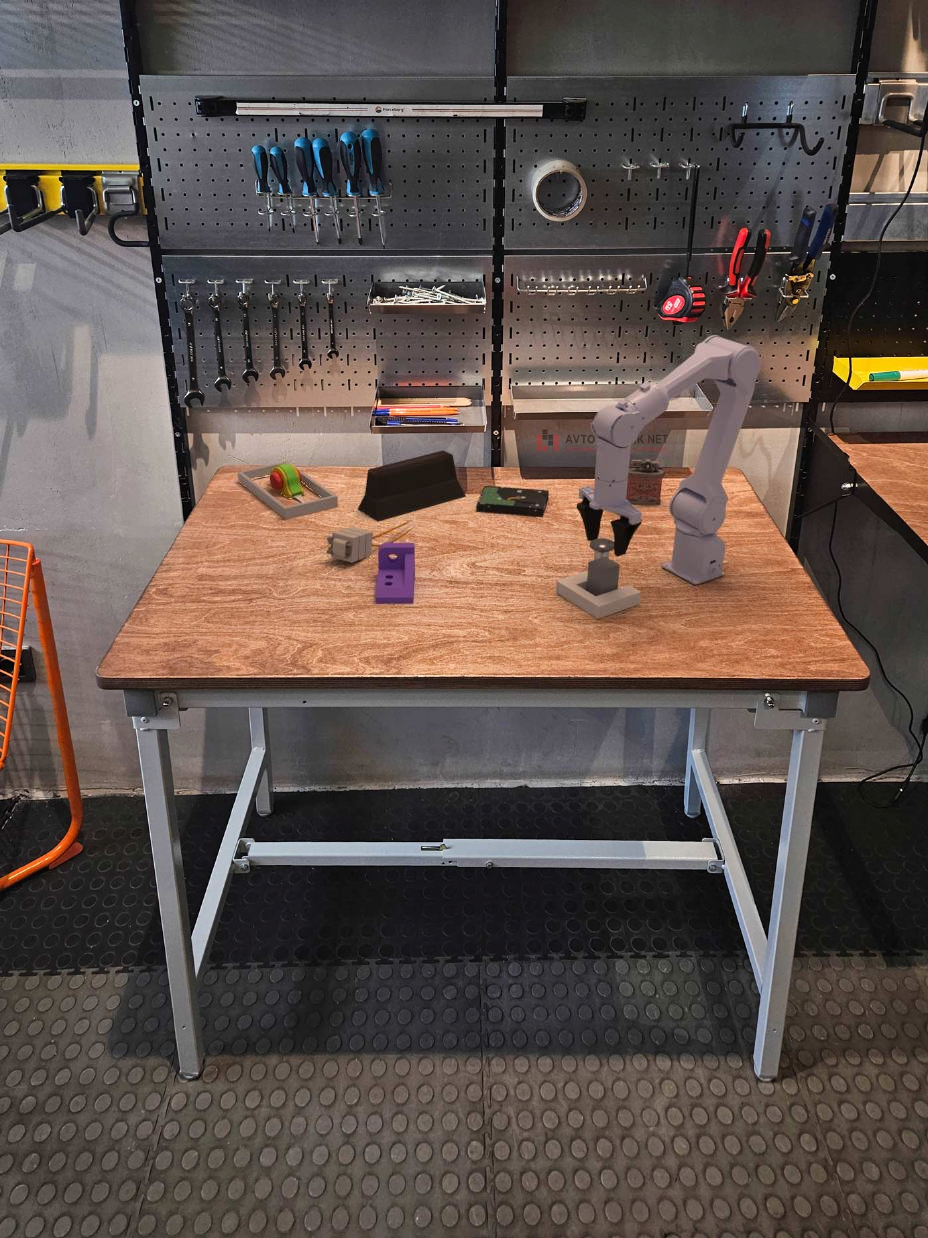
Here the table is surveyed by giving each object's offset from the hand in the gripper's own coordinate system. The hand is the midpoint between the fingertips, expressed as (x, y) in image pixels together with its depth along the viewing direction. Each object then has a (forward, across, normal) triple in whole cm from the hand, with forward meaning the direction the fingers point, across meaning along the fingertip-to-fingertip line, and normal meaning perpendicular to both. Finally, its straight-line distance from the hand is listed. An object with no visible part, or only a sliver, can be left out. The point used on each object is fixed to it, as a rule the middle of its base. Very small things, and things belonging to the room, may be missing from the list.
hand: (606, 546), depth 184 cm
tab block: (+10, 0, -1) cm, 10 cm away
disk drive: (+11, -43, +11) cm, 46 cm away
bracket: (+10, -24, -30) cm, 40 cm away
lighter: (+10, -28, +36) cm, 47 cm away
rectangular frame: (+10, -77, -28) cm, 82 cm away
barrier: (+10, -57, -7) cm, 58 cm away
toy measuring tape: (+10, -74, -27) cm, 80 cm away
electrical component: (+10, -43, -24) cm, 50 cm away
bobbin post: (+10, -7, +6) cm, 14 cm away
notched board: (+10, 0, -2) cm, 10 cm away
